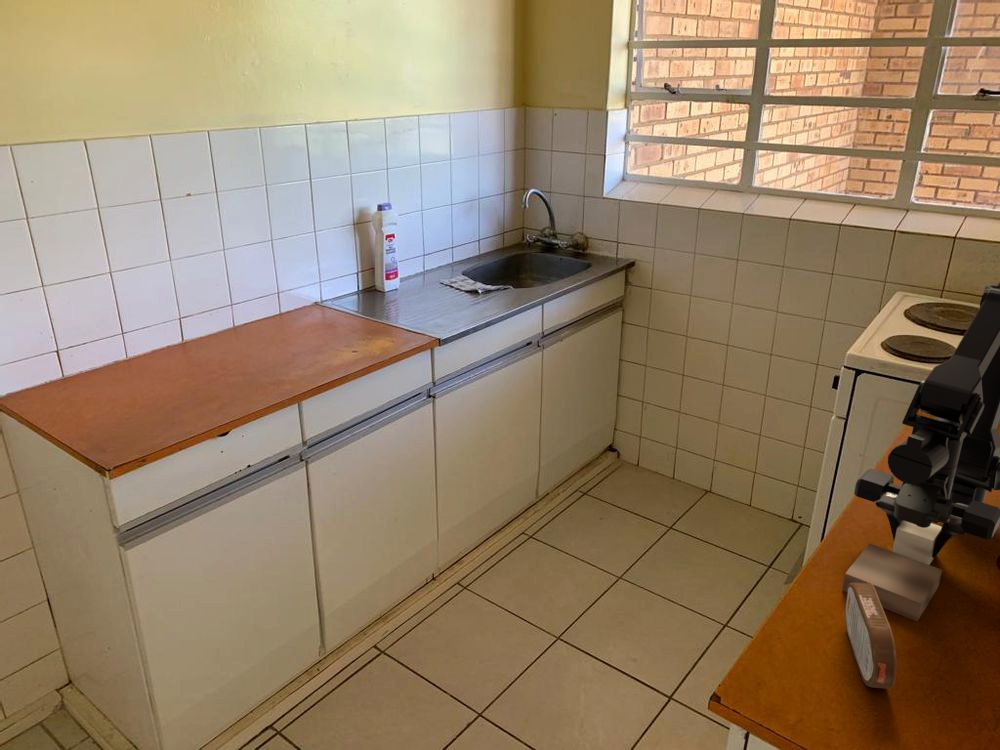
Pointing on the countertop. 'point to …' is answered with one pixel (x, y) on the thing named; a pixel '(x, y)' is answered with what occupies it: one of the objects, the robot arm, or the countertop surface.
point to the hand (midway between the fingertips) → (914, 549)
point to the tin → (870, 636)
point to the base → (895, 580)
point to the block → (916, 541)
